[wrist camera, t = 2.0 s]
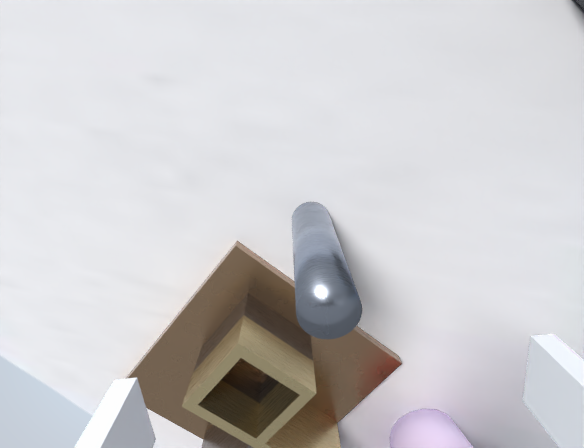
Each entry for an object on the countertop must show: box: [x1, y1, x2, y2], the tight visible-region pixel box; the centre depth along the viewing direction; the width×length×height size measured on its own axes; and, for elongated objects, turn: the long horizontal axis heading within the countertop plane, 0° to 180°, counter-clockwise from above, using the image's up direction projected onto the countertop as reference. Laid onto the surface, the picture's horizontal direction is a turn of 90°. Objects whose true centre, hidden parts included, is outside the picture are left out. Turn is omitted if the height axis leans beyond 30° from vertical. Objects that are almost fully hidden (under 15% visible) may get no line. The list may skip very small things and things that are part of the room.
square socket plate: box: [126, 241, 402, 448], centre depth 30 cm, size 18×18×8 cm
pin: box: [292, 202, 362, 339], centre depth 23 cm, size 3×3×13 cm
